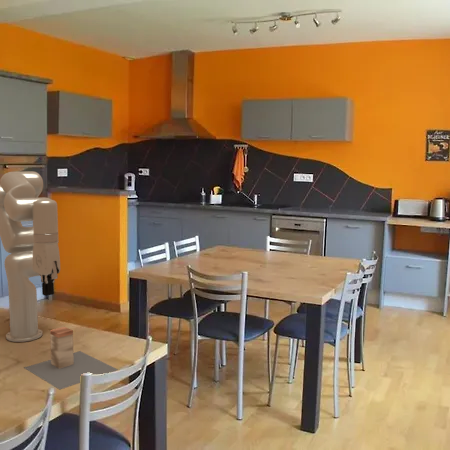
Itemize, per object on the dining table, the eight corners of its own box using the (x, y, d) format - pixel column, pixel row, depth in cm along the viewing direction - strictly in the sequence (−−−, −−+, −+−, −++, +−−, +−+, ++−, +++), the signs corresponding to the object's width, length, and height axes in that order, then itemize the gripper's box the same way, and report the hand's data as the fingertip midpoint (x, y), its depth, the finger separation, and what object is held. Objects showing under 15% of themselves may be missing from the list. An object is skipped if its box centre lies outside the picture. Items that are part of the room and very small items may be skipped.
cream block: (51, 364, 170) (50, 330, 168) (65, 359, 174) (64, 326, 172) (59, 368, 167) (58, 334, 165) (73, 364, 170) (72, 330, 169)
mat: (23, 369, 167) (23, 367, 167) (80, 352, 181) (80, 350, 181) (59, 391, 152) (59, 389, 152) (118, 371, 167) (118, 369, 166)
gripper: (23, 237, 172) (26, 292, 175) (46, 242, 162) (49, 301, 165) (45, 234, 178) (47, 288, 180) (69, 239, 168) (70, 296, 170)
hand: (48, 294), depth 172 cm, fingers closed
